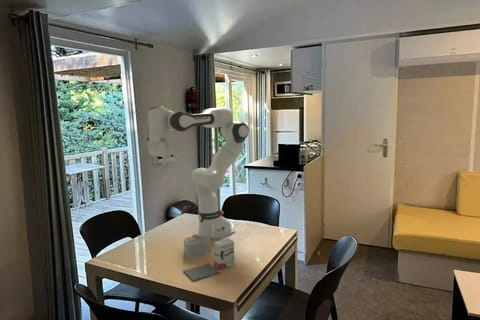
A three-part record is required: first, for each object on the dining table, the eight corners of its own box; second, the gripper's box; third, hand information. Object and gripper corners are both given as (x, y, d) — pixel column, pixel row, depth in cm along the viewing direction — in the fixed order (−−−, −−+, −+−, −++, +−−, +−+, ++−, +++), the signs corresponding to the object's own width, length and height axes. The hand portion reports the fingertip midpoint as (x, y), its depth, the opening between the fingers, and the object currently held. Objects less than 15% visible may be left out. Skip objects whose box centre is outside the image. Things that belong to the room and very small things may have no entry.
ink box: (219, 270, 155) (218, 245, 153) (214, 266, 159) (213, 242, 157) (235, 265, 160) (234, 241, 158) (229, 261, 164) (228, 237, 162)
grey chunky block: (183, 251, 178) (182, 235, 176) (207, 247, 182) (207, 231, 181) (187, 259, 168) (186, 242, 167) (213, 254, 172) (212, 238, 171)
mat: (208, 264, 161) (208, 263, 161) (219, 273, 152) (219, 272, 152) (183, 271, 154) (183, 270, 154) (193, 281, 145) (193, 280, 145)
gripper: (173, 138, 169) (175, 165, 171) (156, 136, 185) (158, 161, 187) (161, 139, 165) (163, 167, 167) (145, 137, 181) (147, 163, 183)
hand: (160, 164), depth 177 cm, fingers open, 8 cm apart
